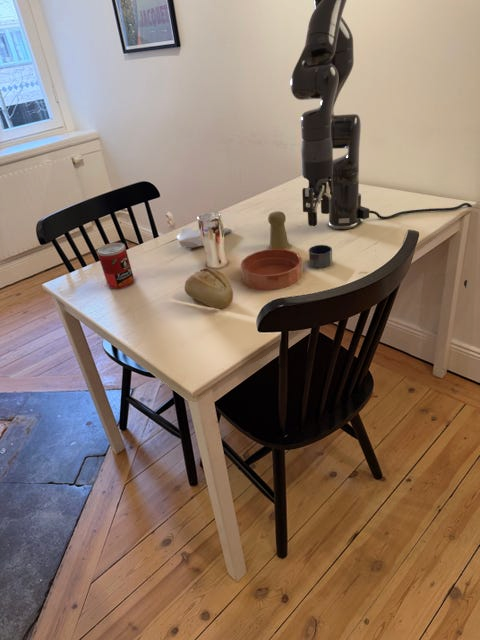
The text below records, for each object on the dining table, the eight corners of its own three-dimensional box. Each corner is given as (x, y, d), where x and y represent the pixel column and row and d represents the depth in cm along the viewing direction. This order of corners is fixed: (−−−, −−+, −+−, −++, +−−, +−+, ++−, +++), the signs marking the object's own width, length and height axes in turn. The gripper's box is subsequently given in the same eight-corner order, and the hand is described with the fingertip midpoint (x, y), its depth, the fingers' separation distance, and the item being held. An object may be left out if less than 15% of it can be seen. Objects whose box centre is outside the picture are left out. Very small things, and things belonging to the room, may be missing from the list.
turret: (236, 239, 158) (235, 225, 155) (191, 252, 145) (190, 237, 143) (215, 233, 164) (215, 220, 162) (170, 246, 151) (169, 232, 149)
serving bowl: (280, 258, 136) (279, 243, 134) (314, 277, 123) (314, 262, 121) (232, 275, 130) (230, 261, 128) (263, 298, 118) (261, 282, 115)
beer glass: (232, 259, 139) (225, 211, 131) (223, 270, 134) (216, 220, 126) (210, 258, 142) (202, 211, 134) (201, 269, 136) (193, 220, 128)
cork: (287, 251, 140) (285, 216, 134) (268, 251, 141) (264, 217, 135) (290, 242, 144) (287, 208, 139) (270, 243, 146) (267, 209, 140)
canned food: (121, 291, 131) (111, 255, 125) (102, 286, 135) (90, 251, 129) (140, 278, 136) (130, 244, 130) (120, 274, 140) (110, 240, 134)
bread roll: (204, 285, 128) (199, 258, 123) (244, 299, 118) (240, 271, 114) (178, 300, 122) (171, 273, 118) (217, 317, 113) (212, 288, 108)
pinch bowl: (314, 258, 133) (314, 243, 131) (335, 261, 130) (335, 246, 128) (305, 268, 129) (305, 253, 126) (326, 271, 126) (326, 255, 123)
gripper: (320, 165, 107) (322, 231, 116) (342, 148, 117) (342, 210, 126) (290, 164, 111) (294, 228, 120) (314, 148, 121) (316, 208, 129)
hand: (319, 219), depth 123 cm, fingers open, 8 cm apart
